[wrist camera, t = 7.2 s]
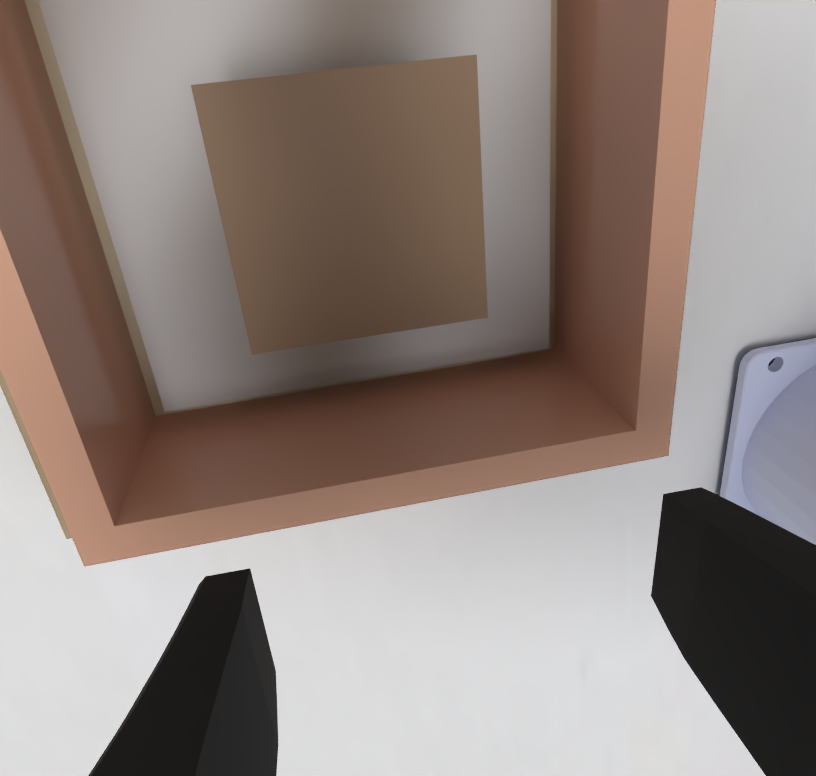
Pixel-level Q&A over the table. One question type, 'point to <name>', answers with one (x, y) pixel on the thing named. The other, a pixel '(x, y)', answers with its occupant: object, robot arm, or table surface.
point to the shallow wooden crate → (381, 398)
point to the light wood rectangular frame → (115, 268)
